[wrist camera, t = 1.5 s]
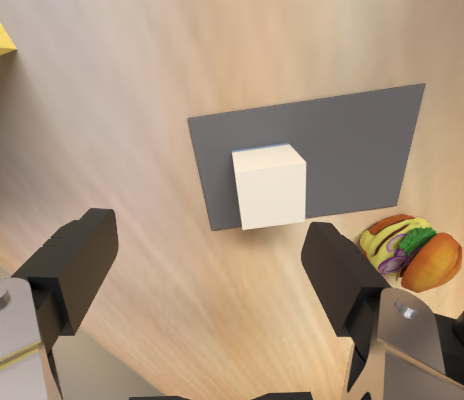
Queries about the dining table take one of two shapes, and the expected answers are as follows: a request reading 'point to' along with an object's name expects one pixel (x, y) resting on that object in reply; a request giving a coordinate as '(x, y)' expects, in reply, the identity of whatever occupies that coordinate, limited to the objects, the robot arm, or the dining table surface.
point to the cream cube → (270, 185)
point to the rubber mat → (315, 149)
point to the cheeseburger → (412, 252)
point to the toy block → (5, 42)
